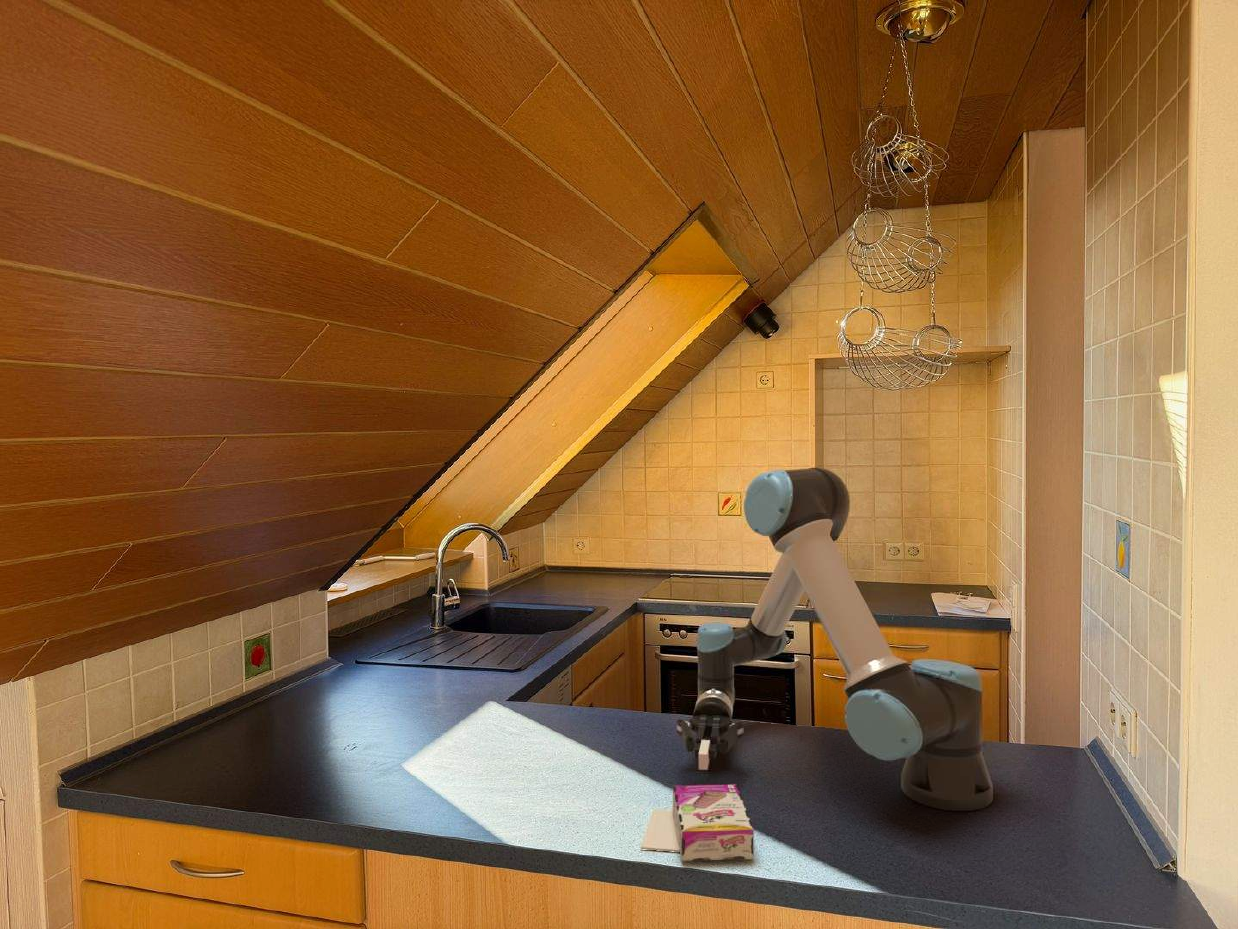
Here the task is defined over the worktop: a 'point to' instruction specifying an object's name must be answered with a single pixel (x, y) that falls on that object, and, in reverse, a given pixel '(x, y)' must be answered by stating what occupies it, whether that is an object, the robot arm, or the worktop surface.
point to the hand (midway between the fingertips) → (702, 762)
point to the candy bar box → (712, 823)
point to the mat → (661, 832)
